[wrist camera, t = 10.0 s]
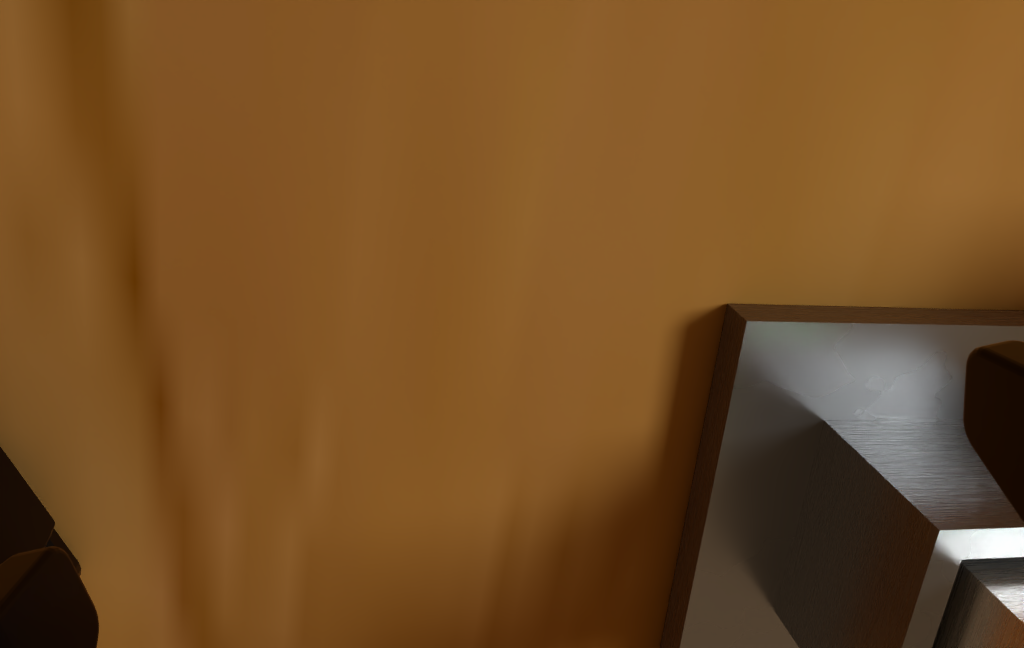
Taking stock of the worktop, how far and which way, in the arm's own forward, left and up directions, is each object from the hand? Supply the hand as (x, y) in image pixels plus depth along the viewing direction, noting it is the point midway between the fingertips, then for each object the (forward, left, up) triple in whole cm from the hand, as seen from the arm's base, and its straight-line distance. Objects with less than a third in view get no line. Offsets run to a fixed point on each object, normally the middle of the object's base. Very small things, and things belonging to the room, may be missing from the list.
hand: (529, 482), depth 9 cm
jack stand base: (+9, -14, -13) cm, 21 cm away
